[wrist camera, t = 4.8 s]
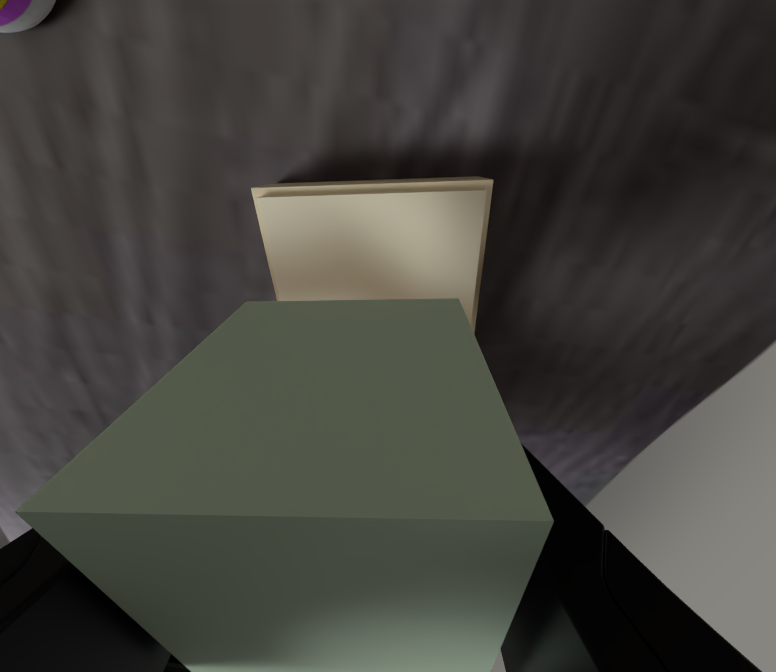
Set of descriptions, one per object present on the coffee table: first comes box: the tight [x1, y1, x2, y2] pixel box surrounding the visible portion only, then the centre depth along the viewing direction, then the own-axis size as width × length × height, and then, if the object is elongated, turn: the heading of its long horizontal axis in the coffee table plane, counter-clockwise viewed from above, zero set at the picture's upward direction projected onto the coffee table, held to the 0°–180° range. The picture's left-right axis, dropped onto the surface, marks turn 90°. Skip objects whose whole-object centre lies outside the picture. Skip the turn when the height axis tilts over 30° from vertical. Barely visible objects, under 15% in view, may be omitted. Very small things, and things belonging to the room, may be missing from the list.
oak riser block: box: [251, 176, 493, 333], centre depth 14 cm, size 9×9×3 cm
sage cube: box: [15, 298, 554, 672], centre depth 6 cm, size 5×5×5 cm
